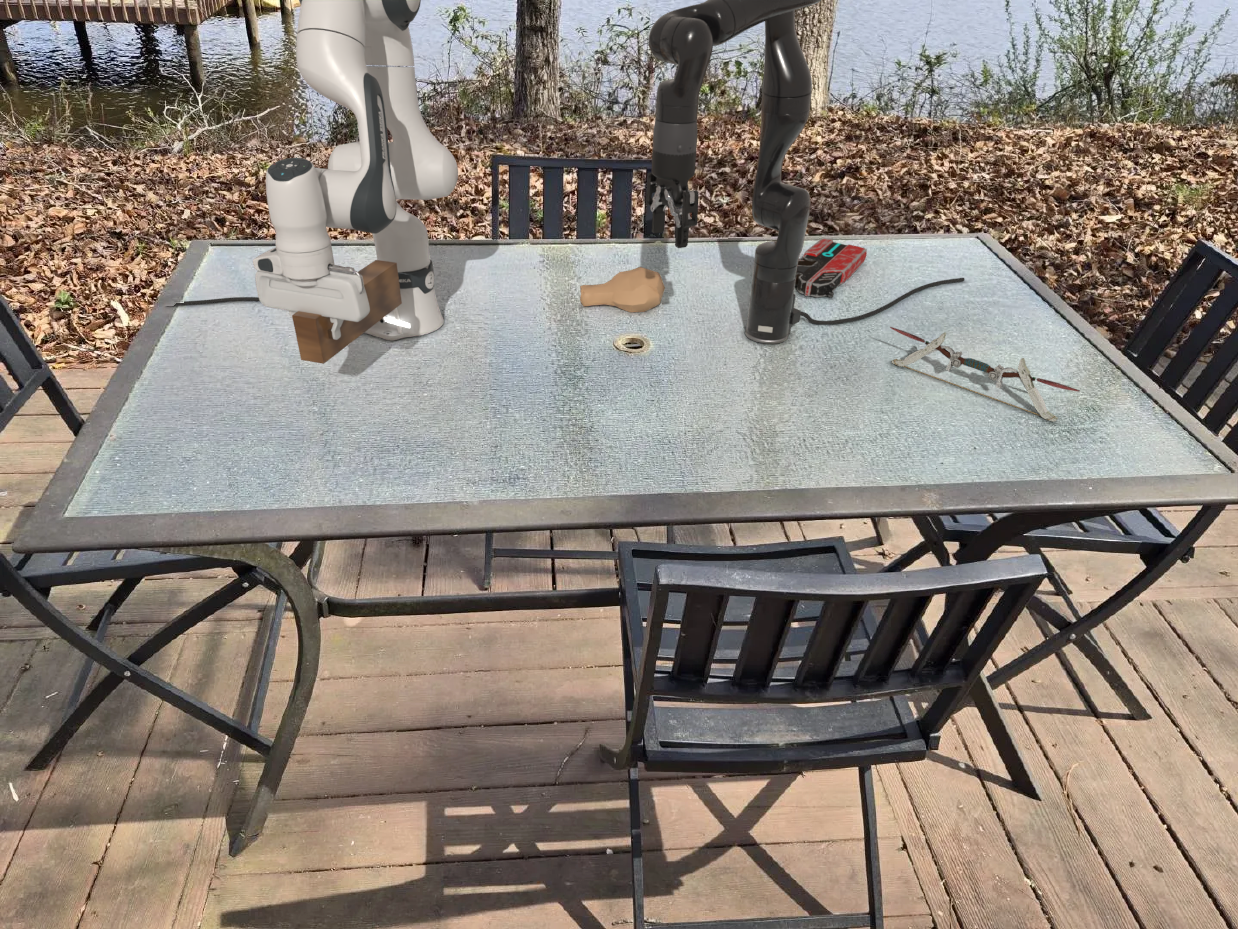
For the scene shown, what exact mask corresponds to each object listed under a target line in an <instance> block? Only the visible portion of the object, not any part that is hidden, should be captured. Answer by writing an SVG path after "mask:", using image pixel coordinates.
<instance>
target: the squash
mask: <svg viewBox="0 0 1238 929" xmlns="http://www.w3.org/2000/svg"><path fill="white" fill-rule="evenodd" d="M665 290H666V287H665V284H664V281H663V279H662V275H661V274H660V272H658V271H655V270H653V269H649V268H646V267H641V266H639V267H636V268H633V269H629V270H624V271H619V272H618V273H616V274H615V275H614V276H612V277H611V279H609V280H608V281H606V282H604V283H598V284H582V285H580V288H579V291H580V298H579V301H580V303H581V305H582V307H590V306H601V305H603V306H604V305H608V306H613V307H616V308H618V309H620V310H623V311H626V312H628V313H645V312H648V311H649V310H652V309H653V308H655V307H657V306H660V304H661V302H662V299H663V296H664V293H665Z"/></svg>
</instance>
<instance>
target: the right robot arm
mask: <svg viewBox="0 0 1238 929" xmlns="http://www.w3.org/2000/svg"><path fill="white" fill-rule="evenodd" d="M821 1H822V0H705V1H704V2H701V3H697V4H692V5H688V6H684V7H680V8H677V9H674V10H671V11H669V12H666V13H664V14H663V15H661V16H660V17H658V19H656V21H655V22H654V23H653V25H652V26H651V29H650V31H649V34H648V38H647V39H648V40H647V43H648V49H649V51H650V53H651V54H652V56H653V57H654V58H655V59H657V60H658V61H660V62H663V63H666V64H671V65H677V70H676V73H675V76H674V78H671V79H670V78H669V79H666V80H665V79H664V80H663V81H661V82H660V83H659V84H658V85H657V89H656V96H655V97H656V98H655V102H656V103H655V119H654V126H653V132H652V150H651V151H652V152H651V153H652V154H651V172H648V173H647V179H646V180H647V181H646V196H645V204H646V206H650V211H651V212H652V220H651V232H652V233H653V234H661V233H664V232H665V222H666V221H665V219H666V212H665V210H666V208H668V209H669V212H670V215H671V216H673V217H674V218H673V219H674V222H675V225H676V227H675V235H674V236H675V239H674V246H675V248H677V249H684V248H687V247H688V244H689V233H690V227H696V226H697V225H698V217H699V216H698V215H699V214H698V213H699V191H698V190H697V189H696V190H690V189H689V180H690V179H691V178H693V177H694V176H695V175H696V174H695V173H696V162H697V149H698V112H699V98H700V93H701V90H702V86H703V83H704V81H705V77H706V74H707V71H708V67H709V64H710V61H711V58H712V54H713V49H714V47H717V46H721V45H723V44H724V43H726V42H728V41H731V40H732V39H734V38H736V37H737V36H739V35H741V34H742V33H744V32H746V31H749V30H750V29H751V28H754V27H756V26H758V25H760V24H762V23H764V62H763V63H764V64H763V65H764V66H763V80H762V90H761V106H760V107H761V109H760V110H761V111H760V134H759V147H758V155H757V156H758V158H757V165H756V172H755V178H754V185H753V190H752V200H751V214H752V218H753V220H754V222H755V223H756V224H757V225H759V226H762V227H765V228H768V229H771V230H774V231H776V232H778V233H777V238H776V240H772V241H771V240H770V241H765V242H761V243H760V244H758V245H757V246H756V248H755V251H754V258H753V268H752V276H751V284H750V292H749V293H750V294H749V303H748V309H747V310H748V312H747V319H746V320H747V321H746V328H745V336H746V337H747V338H748V339H749V340H751V341H753V342H756V343H759V344H764V345H777V344H781V343H784V342H785V341H787V340H788V338H789V335H791V330H792V326H793V325H795V324H799V323H800V321H801V317H803V318H805V319H806V321H808V322H809V323H810V324H813V325H817V326H832V325H839V324H846V323H852V322H857V321H861V320H864V319H867V318H870V317H872V316H875V315H878V314H880V313H883V312H884V311H886V310H888V309H889V308H892V307H893V306H895V305H896V304H898V303H900V302H902V301H903V300H905V299H906V298H907V299H908V297H910V296H912V295H914V294H916V293H918V292H921V291H923V290H927V289H929V288H933V287H937V286H942V285H946V284H947V285H948V284H953V283H961V282H962V283H963V282H965V279H966V278H965V277H956V278H950V279H942V280H938V281H933V282H930V283H926V284H924V285H921V286H917V287H916V288H913V289H911V290H909V291H908V292H906V293H904V294H902V295H900V296H898V297H897V298H895V299H894V300H892V301H890V302H889V303H886V304H885V305H883V306H881V307H879V308H877V309H874V310H871V311H869V312H866V313H863V314H861V315H857V316H852V317H847V318H840V319H833V320H818V319H814V318H812V317H811V315H809V313H807V312H805V311H802V310H801V309H798V308H796V307H795V304H796V293H795V287H796V285H795V282H796V274H797V267H798V260H799V259H800V256H801V253H802V250H803V247H804V244H805V238H806V232H807V229H808V223H809V219H810V213H811V204H812V203H811V195H810V193H809V191H808V190H806V189H805V188H802V187H799V186H795V185H792V184H788V183H784V182H783V181H782V170H783V165H784V160H785V158H786V155H787V153H788V152H789V150H790V149H791V147H792V145H793V144H794V143H795V142H796V140H797V139H798V137H799V136H800V134H801V133H802V131H803V130H804V128H805V126H806V125H807V123H808V121H809V117H810V113H811V104H812V103H811V102H812V91H813V79H812V75H811V71H810V67H809V65H808V62H807V59H806V56H805V55H804V52H803V49H802V47H801V45H800V42H799V39H798V36H797V32H796V23H795V22H796V21H795V20H796V19H795V13H796V12H795V10H799V9H803V8H807V7H810V6H813V5H816V4H818V3H820V2H821ZM653 193H654V195H653Z"/></svg>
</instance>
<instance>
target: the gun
mask: <svg viewBox="0 0 1238 929" xmlns="http://www.w3.org/2000/svg"><path fill="white" fill-rule="evenodd" d="M867 251H868V250H867V248H865V247H862V246H859V245H854V244H844V243H839V242H836V241H834V240H833V239H829V238H826V237H825V238H820V239H819V240H817V241H816V242H815V243H814V244H813V245H812V246H810V247H809V248H807V250H805V251H804V252H803V256H802V257H801V258H799V260H798V267H797V274H796V282H795V286H796V290H797V291H798V293H799V294H802V295H804V297H813V298H822V297H827V298H831V299H832V298H834V295H835V293H834V291H835V290H836V289H837V288H838V287H840V286H842V285H843V284H844V283H846V282H847V280H849V279H850V278H851V277H852V276H853V275H854V274H855V273H856V272H857V270H859V268H860V267H861V266H862V265H863V264H864V263H865V261H866V258H867V255H868V254H867V253H868V252H867Z"/></svg>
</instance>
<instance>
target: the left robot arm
mask: <svg viewBox="0 0 1238 929" xmlns="http://www.w3.org/2000/svg"><path fill="white" fill-rule="evenodd" d="M298 1H299V4H300V10H299V15H298V23H297V29H296V30H297V31H296V47H295V58H296V59H295V60H296V66H297V69H298V72H299V74H300V75H301V77H302V79H303V80H304V81H305V82H306V84H307V85H308V86H309V87H310V88H311V89H312V90H313V91H315V92H317V93H318V94H319V95H320V96H322V97H324V98H326V99H328V100H329V101H331V102H334V103H336V104H337V105H340V106H342V107H344V108H345V109H348V110H350V111H351V112H352V113H353V114H354V116H355V118H356V122H357V130H358V140H359V141H354V142H348V143H344V144H338V145H336V146H335V148H333V150H332V151H331V153H330V155H329V158H328V163H327V168H320V167H315V164H314V163H313V162H312V161H310V160H308V159H307V158H302V157H288V158H287V157H286V158H283V159H280V160H277V161H275V162H273V163H272V164H270V165H269V166H268V167H267V170H266V173H265V192H266V201H267V208H268V214H269V219H270V223H271V225H272V227H273V228H274V232H275V247H273V248H271V249H268V250H267V251H265V252H263V253H261V254H259V255H257V256H255V257H254V258H253V259H252V264H253V267H254V270H255V271H256V272H255V277H254V280H255V287H256V294H257V296H237V297H235V296H233V297H221V298H212V299H202V300H201V299H200V300H184V303H176V304H175V305H174V306H173V307H182V306H183V307H184V306H197V305H199V306H200V305H210V304H223V303H231V302H232V303H233V302H259V303H261V305H262V306H263V307H265V308H270V309H277V310H282V311H286V312H287V311H288V314H289V317H290V318H291V319H292V320H293V318H292V315H293V314H295V313H296V312H298V311H301V312H307V313H313V314H319V315H322V316H324V317H330V321H331V323H334V324H333V326H332V327H331V328H330V329H328V330H327V331H328V337H329V338H330V339H335V340H337V339H339V338H340V337H341V332H340V327H341V325H342V323H343V321H344V320H348V321H354V322H359V321H361V320H362V319H363V318H365V317H366V316H367V315H368V314H369V312H370V307H369V302H368V298H367V294H366V291H365V287H364V282H363V277H362V275H360V274H359V273H358V271H357V270H355V268H354V267H352V266H351V267H350V266H342V265H338V264H335V259H334V253H333V252H334V251H333V247H332V241H331V237H330V235H329V233H328V229H327V228H330V229H345V230H355V231H358V232H364V233H368V234H372V238H373V239H372V240H373V243H374V248H375V253H376V254H375V255H376V260H381V261H388V262H395V263H397V269H398V277H399V285H400V292H401V300H402V304H401V305H399V306H398V307H397V308H395V309H394V310H393V311H391V312H390V313H389V314H388V315H386V316H385V317H384V318H382V319H381V320H380V321H379V322H377V323H376V324H375V325H373V326H372V327H371V328H370V329H368V330H367V331H366V332H364V333H363V334H367V335H370V336H373V337H377V338H380V339H383V340H387V341H396V340H397V341H398V340H401V339H404V338H412V337H420V336H423V335H427V334H430V333H431V334H432V333H434V332H436V331H437V330H439V329H441V327H442V326H443V325H444V323H445V320H444V317H443V314H442V312H441V310H440V307H439V303H438V300H437V296H436V291H435V271H434V264H433V260H432V259H431V253H430V243H429V232H428V229H427V227H426V225H425V223H424V222H423V221H422V220H421V219H420V218H419V217H418V216H415V215H414V214H412V213H410V212H409V211H406V210H405V209H404V208H403V207H402V206H401V205H400V204H399V203H398V201H397V200H412V201H429V200H435V199H436V200H437V199H441V198H447V197H449V196H450V195H451V194H452V193H453V191H454V190H455V188H456V186H457V183H458V181H459V169H458V168H459V167H458V163H457V161H456V158H455V156H454V155H453V153H452V152H451V151H450V149H448V148H447V147H446V146H444V145H443V144H442V143H441V142H440V141H439V140H438V139H437V138H436V136H434V135H433V133H432V132H431V131H430V129H429V128H428V126H427V124H426V122H425V121H424V117H423V115H422V112H421V109H420V105H419V99H418V91H417V83H416V81H417V80H416V68H415V67H416V66H415V56H414V49H413V43H412V37H411V32H410V27H409V26H410V24H411V22H413V21H414V20H415V18H416V16H417V14H418V13H419V11H420V7H421V1H422V0H298ZM388 131H389V132H390V134H391V137H392V141H391V142H390V141H389V135H388ZM355 273H356V274H355Z"/></svg>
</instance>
